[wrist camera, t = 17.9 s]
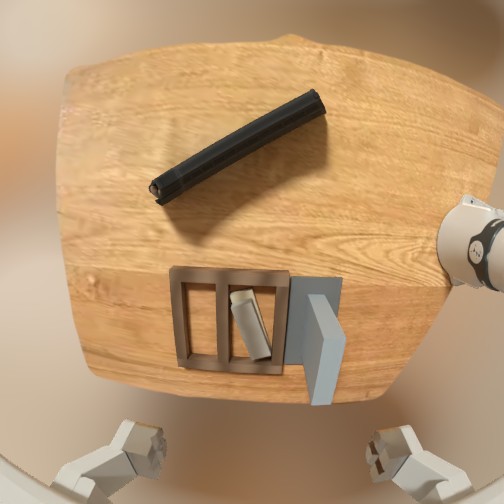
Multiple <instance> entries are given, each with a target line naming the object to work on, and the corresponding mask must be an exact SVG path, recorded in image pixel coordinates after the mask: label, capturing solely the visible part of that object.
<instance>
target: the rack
mask: <svg viewBox="0 0 504 504" xmlns="http://www.w3.org/2000/svg"><path fill="white" fill-rule="evenodd" d="M169 277H170V292H171V305H172V316H173V327H174V336H175V345H176V353H177V361H178V367H185V368H194V369H203V370H214V371H227V372H242V373H264V374H281V371H282V361H283V351H284V341H285V330H286V318H287V306H288V294H289V280H290V274H289V271H288V270H259V269H234V268H211V267H190V266H173V267H172V268H170V269H169ZM185 282H193V283H210V284H216V321H217V352H218V355H207V354H197V353H190V347H189V336H188V323H187V309H186V292H185ZM230 285H253V286H276V294H275V310H274V325H273V339H272V353H271V358H259V359H255V360H252V359H251V357H234V356H230Z"/></svg>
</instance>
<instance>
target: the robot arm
mask: <svg viewBox="0 0 504 504" xmlns="http://www.w3.org/2000/svg"><path fill="white" fill-rule="evenodd" d="M437 252H438V257H439V260H440V263H441V265H442V266H443V268H444V269H445V270H446V271H447V273H448V274H449V277H450V281H451V283H452V285H455V286H459V285H462V284H467V285H469V286H471V287H473V288H476V289H477V288H479V287H482V286H484V285H485V286H486V287H487V288H489V289H491V290H495V291H501V292H503V293H504V211H503V210H501V209H495V208H492V207H491V206H489V205H487V204H486V203H484V202H482V201H480V200H478V199H477V198H475V197H473V196H471V195H468V194H465V195H463V197H462V198H461V200H460V202H459V204H458V205H457V206H456V207H454V208H453V209H452V210H451V211H450V212H449V213H448V214H447V215H446V217H445V218H444V220H443V222H442V224H441V227H440V230H439V233H438V239H437ZM162 436H163V429H162V428H160V427H156V426H151V425H147V424H143V423H139V422H136V421H132V420H128V419H125V420H124V421H123V422H122V424H121V425H120V427H119V429H118V431H117V433H116V434H115V436H114V438H113V440H112V442H111V444H110V445H109V446H104V447H102V448H100V449H98V450H96V451H94V452H91V453H89V454H87V455H85V456H83V457H81V458H79V459H77V460H75V461H72V462H70V463H68V464H66V465H63V467H62V468H61V470H60V471H59V473H58V474H57V476H56V478H55V479H54V481H53V483H52V484H51V486H50V487H49V486H47V485H46V484H44V483H42V482H41V481H39V480H37V479H36V478H34V477H33V476H31V475H30V474H28V473H26V472H25V471H23V470H22V469H20V468H19V467H18V466H16V465H15V464H13V463H12V462H10V461H9V460H8V459H6V458H5V457H4V456H3V455H1V454H0V504H113V503H112V502H111V501H110V500H109V499H108V497H109V496H110V495H112V494H113V493H115V492H116V491H118V490H119V489H121V488H122V487H123V486H125V485H126V484H128V483H129V482H130V481H132V480H133V479H134V478H136V477H137V475H139V476H143V477H147V478H151V479H156V480H158V477H159V474H160V471H161V468H162V467H161V465H160V462H162V461H163V460H164V459H165V456H166V452H167V443H166V440H165V439H164V438H163V437H162ZM372 439H373V440H372V441H371V442H370V443H368V446H367V448H366V460H367V463H368V464H369V465H371V466H372V468H371V470H370V473H371V476H372V480H373V483H376V482H381V481H386V480H390V479H392V481H394V482H395V483H396V484H397V485H398V486H400V487H401V488H402V489H403V490H404V491H405V492H407V493H408V494H409V495H410V496H412V497H413V498H414V499H415V500H416V501H418V502H419V503H418V504H504V474H503V475H502V476H500V477H499V478H497V479H495V480H494V481H492V482H491V483H489V484H487V485H486V486H484V487H482V488H480V489H479V490H477V491H475V490H474V488H473V486H472V484H471V483H470V481H469V479H468V477H467V475H466V473H465V471H463V470H461V469H459V468H457V467H455V466H453V465H452V464H450V463H448V462H446V461H444V460H443V459H441V458H439V457H437V456H435V455H433V454H432V453H430V452H428V451H423V449H422V447H421V445H420V443H419V441H418V439H417V437H416V435H415V433H414V431H413V430H412V428H411V426H410V425H405V426H400V427H394V428H389V429H384V430H379V431H375V432H374V433H373V435H372Z"/></svg>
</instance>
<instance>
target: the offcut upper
mask: <svg viewBox="0 0 504 504" xmlns="http://www.w3.org/2000/svg"><path fill="white" fill-rule="evenodd" d="M231 310H232V313H233V315H234V318H235V320H236V323H237V325H238V328H239V330H240V333H241V335H242V338H243V340H244V342H245V345H246V347H247V350H248V352H249V355H250V357H251V359H252V360H255V359H259V358H263V357H267V356H271V348H270V346H269V343H268V340H267V338H266V335H265V332H264V330H263V327H262V324H261V321H260V319H259V316H258V313H257V310H256V308H255V305H254V302H253V299H252V298H250V299H246V300H243V301H239V302H236V303H232V306H231Z"/></svg>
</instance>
